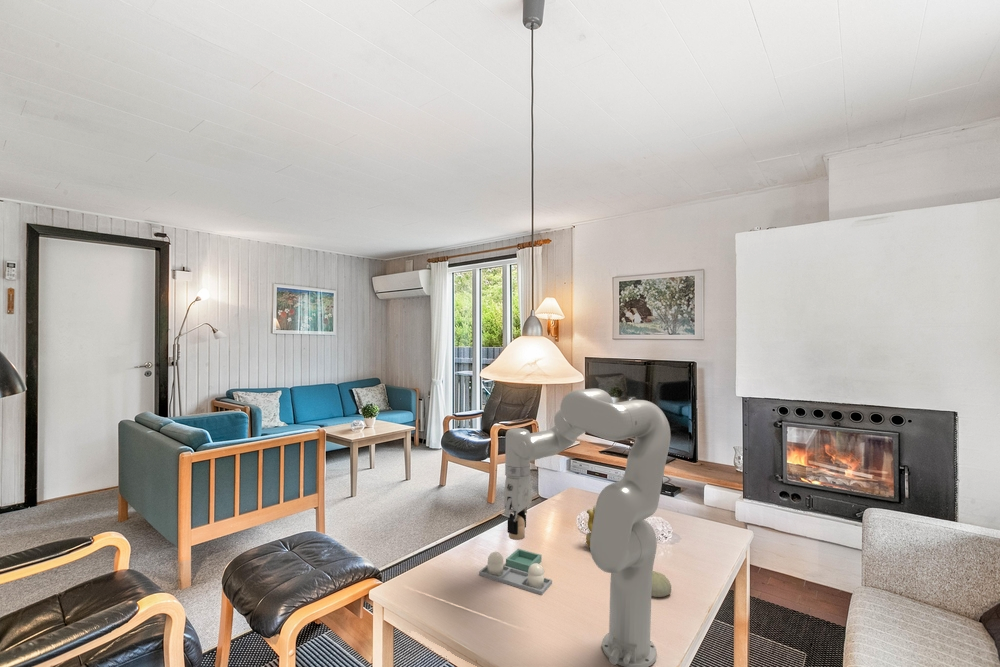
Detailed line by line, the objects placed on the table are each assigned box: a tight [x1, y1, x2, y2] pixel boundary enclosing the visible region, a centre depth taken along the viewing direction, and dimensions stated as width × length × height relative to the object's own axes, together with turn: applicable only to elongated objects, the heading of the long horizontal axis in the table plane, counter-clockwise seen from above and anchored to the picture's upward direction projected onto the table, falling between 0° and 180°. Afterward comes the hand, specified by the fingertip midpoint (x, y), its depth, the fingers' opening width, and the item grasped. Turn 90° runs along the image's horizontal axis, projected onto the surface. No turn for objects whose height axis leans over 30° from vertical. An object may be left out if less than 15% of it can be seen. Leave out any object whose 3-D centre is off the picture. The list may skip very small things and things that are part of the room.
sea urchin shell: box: [651, 571, 672, 598], centre depth 142 cm, size 9×8×8 cm
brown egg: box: [508, 515, 526, 541], centre depth 145 cm, size 5×5×6 cm
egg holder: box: [505, 548, 543, 573], centre depth 155 cm, size 9×9×3 cm
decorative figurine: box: [585, 504, 596, 548], centre depth 167 cm, size 10×8×15 cm
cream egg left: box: [487, 551, 504, 577], centre depth 149 cm, size 5×5×6 cm
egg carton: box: [478, 564, 553, 596], centre depth 146 cm, size 7×21×2 cm, turn 61°
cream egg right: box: [527, 563, 545, 590], centre depth 142 cm, size 5×5×6 cm
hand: (516, 529), depth 145 cm, fingers closed on brown egg, 4 cm apart
